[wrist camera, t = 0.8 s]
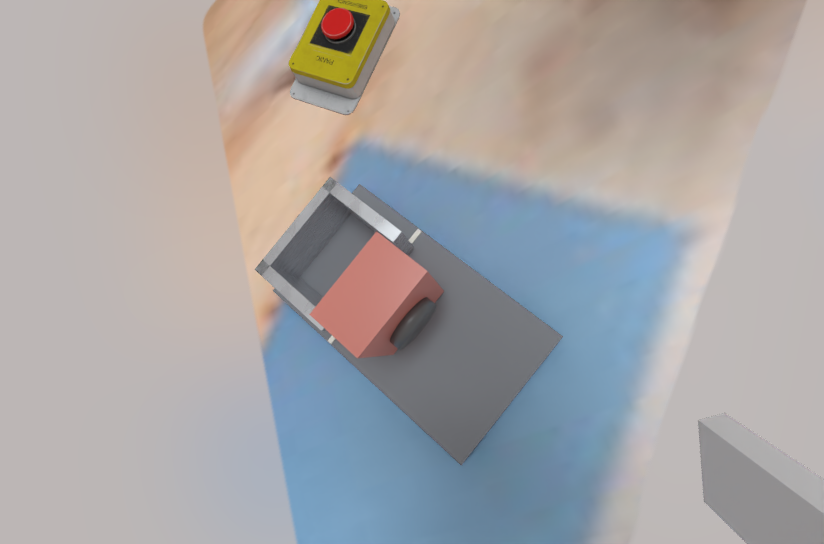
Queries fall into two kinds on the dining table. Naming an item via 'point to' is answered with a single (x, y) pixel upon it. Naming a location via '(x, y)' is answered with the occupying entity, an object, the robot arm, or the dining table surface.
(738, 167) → the dining table surface
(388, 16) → the emergency button
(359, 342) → the pink box with dome
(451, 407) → the stand board
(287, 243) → the grey box holder bracket
